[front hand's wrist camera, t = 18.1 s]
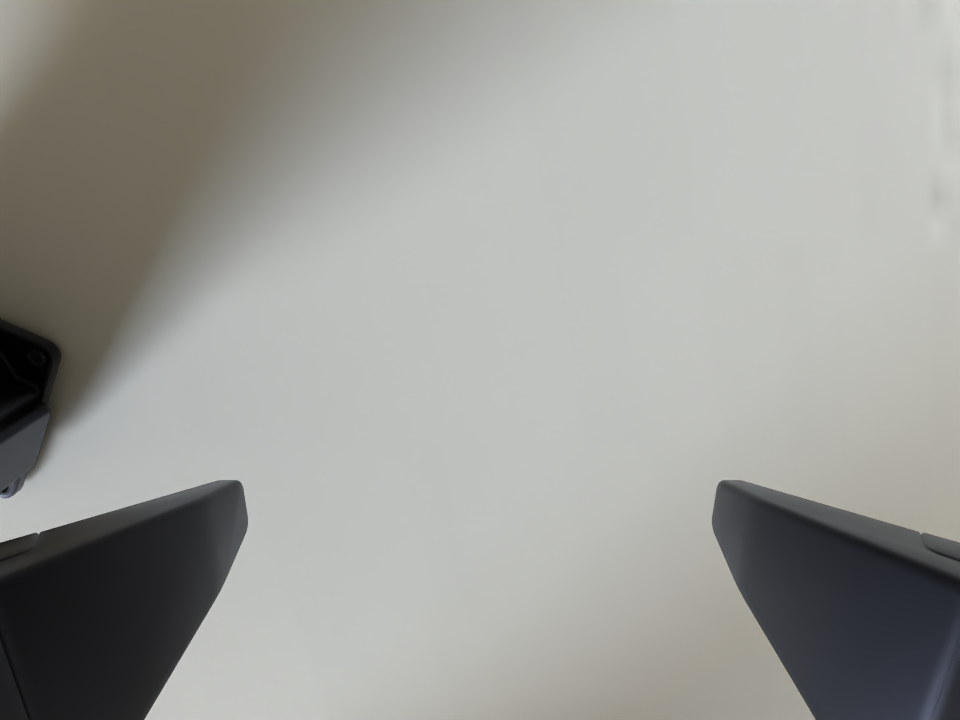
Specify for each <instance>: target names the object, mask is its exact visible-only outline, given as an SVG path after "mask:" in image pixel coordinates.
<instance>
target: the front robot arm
mask: <svg viewBox="0 0 960 720" xmlns="http://www.w3.org/2000/svg"><path fill="white" fill-rule="evenodd" d="M38 351H40V352H42V353H43V354H44V356H45V360H43V359H42V358H40V356H39V355H38ZM60 360H61V354H60V351H59V349H58V348H57V346H56V345H55V344H54V343H52V342H50V341H49V340H46V339H44V338H42V337H40V336H37V335H35V334H33V333H30V332H28V331H26V330H24V329H21V328H19V327H17V326H14V325H12V324H10V323H7V322H5V321H3V320H1V319H0V497H1V498H9V497H11V496H13V495H14V494H15V493H17V492H18V491H19V490H21V488H22V487H23V484H24V481H25V477H26V474H27V472H28V471H29V470H30V469H32V468H33V467H34V466H35V464H36V461H37V457H38V454H39V451H40V447H41V444H42V441H43V437H44V434H45V431H46V428H47V424H48V421H49V418H50V414H51V410H50V406H49V404H48V400H49V397H50V393H51V390H52V387H53V383H54V380H55V377H56V373H57V370H58V367H59V363H60ZM247 526H248V516H247V509H246V503H245V497H244V490H243V486H242V484H241V482H239V481H237V480H220V481H215V482H212V483H208V484H205V485H201V486H198V487H194V488H191V489H188V490H184V491H181V492H177V493H174V494H170V495H167V496H163V497H160V498H156V499H153V500H150V501H146V502H143V503H139V504H136V505H132V506H129V507H125V508H122V509H119V510H115V511H112V512H108V513H105V514H101V515H98V516H94V517H91V518H88V519H84V520H81V521H77V522H74V523H70V524H67V525H63V526H60V527H56V528H53V529H50V530H46V531H43V532H41V533H40V534H39V535H38V534H37V533H33V534H30V535H26V536H23V537H19V538H16V539H12V540H9V541H5V542H1V543H0V720H144V719H145V717H146V716H147V714H148V712H149V711H150V709H151V707H152V706H153V704H154V702H155V701H156V699H157V697H158V695H159V694H160V692H161V690H162V689H163V687H164V685H165V684H166V682H167V680H168V679H169V677H170V675H171V674H172V672H173V670H174V669H175V667H176V665H177V663H178V662H179V660H180V658H181V657H182V655H183V653H184V652H185V650H186V648H187V647H188V645H189V643H190V642H191V640H192V638H193V637H194V635H195V633H196V632H197V630H198V628H199V626H200V625H201V623H202V621H203V620H204V618H205V616H206V615H207V613H208V611H209V610H210V608H211V606H212V605H213V603H214V601H215V599H216V598H217V596H218V594H219V592H220V590H221V588H222V586H223V584H224V582H225V580H226V578H227V575H228V573H229V571H230V569H231V566H232V564H233V562H234V559H235V557H236V555H237V552H238V550H239V548H240V545H241V543H242V541H243V539H244V536H245V534H246V531H247ZM712 526H713V531H714V534H715V536H716V539H717V541H718V543H719V545H720V548H721V550H722V552H723V555H724V557H725V559H726V562H727V564H728V566H729V569H730V571H731V573H732V575H733V578H734V580H735V582H736V584H737V586H738V588H739V590H740V592H741V594H742V596H743V598H744V599H745V601H746V603H747V605H748V606H749V608H750V610H751V611H752V613H753V615H754V616H755V618H756V620H757V621H758V623H759V625H760V626H761V628H762V630H763V631H764V633H765V635H766V637H767V638H768V640H769V642H770V643H771V645H772V647H773V648H774V650H775V652H776V653H777V655H778V657H779V658H780V660H781V662H782V663H783V665H784V667H785V669H786V670H787V672H788V674H789V675H790V677H791V679H792V680H793V682H794V684H795V685H796V687H797V689H798V690H799V692H800V694H801V695H802V697H803V699H804V701H805V702H806V704H807V706H808V707H809V709H810V711H811V712H812V714H813V716H814V717H815V719H816V720H960V543H959V542H955V541H951V540H948V539H944V538H941V537H937V536H934V535H930V534H927V533H923V534H922V535H921V534H920V533H919V532H917V531H914V530H910V529H907V528H904V527H900V526H897V525H893V524H890V523H886V522H883V521H879V520H876V519H873V518H869V517H866V516H862V515H859V514H855V513H852V512H848V511H845V510H841V509H838V508H835V507H831V506H828V505H824V504H821V503H817V502H814V501H810V500H807V499H804V498H800V497H797V496H793V495H790V494H786V493H783V492H779V491H776V490H772V489H769V488H766V487H762V486H759V485H755V484H752V483H748V482H745V481H740V480H723V481H721V482H719V484H718V486H717V490H716V497H715V503H714V509H713V516H712Z"/></svg>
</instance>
